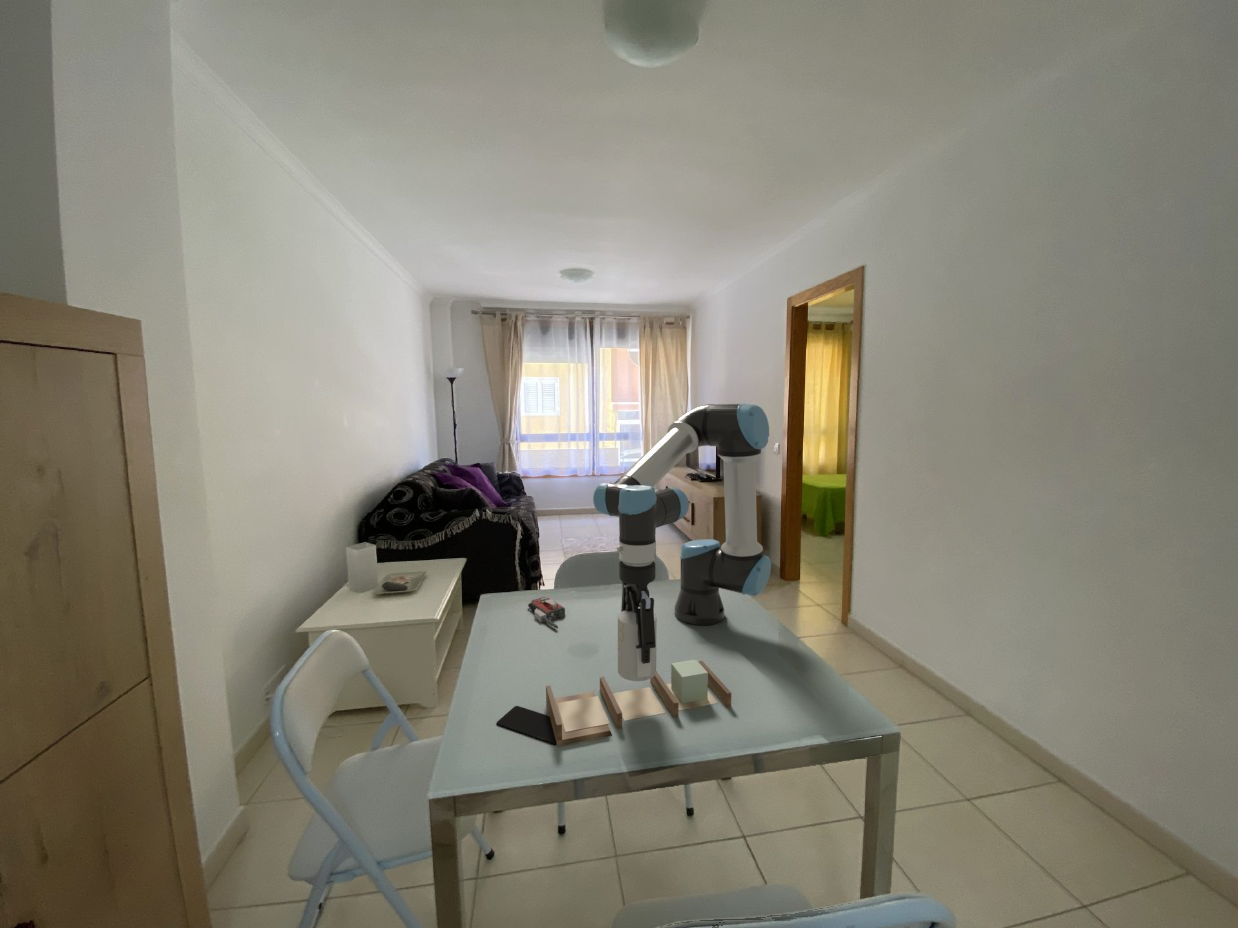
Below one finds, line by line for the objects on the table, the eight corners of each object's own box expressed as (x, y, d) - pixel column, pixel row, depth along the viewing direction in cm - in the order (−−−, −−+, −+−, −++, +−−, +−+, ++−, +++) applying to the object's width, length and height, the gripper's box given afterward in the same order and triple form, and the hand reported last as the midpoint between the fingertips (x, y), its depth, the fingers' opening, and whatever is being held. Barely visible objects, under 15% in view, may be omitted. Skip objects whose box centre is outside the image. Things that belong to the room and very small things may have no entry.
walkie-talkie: (522, 610, 161) (554, 633, 145) (521, 597, 161) (553, 618, 145) (546, 603, 166) (579, 624, 151) (546, 590, 166) (579, 610, 150)
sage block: (695, 684, 116) (696, 659, 115) (707, 698, 110) (707, 672, 109) (671, 688, 114) (671, 663, 113) (681, 703, 108) (682, 676, 107)
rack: (701, 677, 120) (702, 660, 120) (731, 712, 107) (731, 692, 107) (546, 704, 110) (545, 685, 110) (557, 746, 97) (556, 725, 96)
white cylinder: (624, 658, 113) (624, 606, 111) (660, 664, 110) (660, 611, 109) (612, 677, 105) (612, 621, 104) (650, 684, 102) (650, 627, 101)
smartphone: (556, 744, 97) (494, 722, 103) (556, 748, 97) (494, 726, 104) (575, 723, 103) (515, 704, 110) (575, 727, 103) (516, 708, 110)
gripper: (606, 548, 114) (607, 645, 116) (636, 579, 94) (635, 695, 96) (638, 546, 116) (638, 640, 118) (673, 575, 96) (672, 688, 98)
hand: (637, 665), depth 107 cm, fingers closed on white cylinder, 8 cm apart
